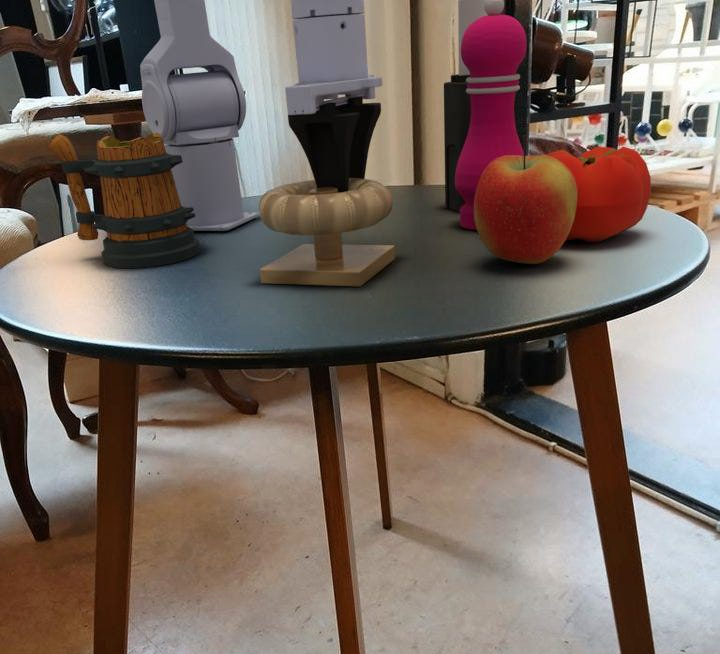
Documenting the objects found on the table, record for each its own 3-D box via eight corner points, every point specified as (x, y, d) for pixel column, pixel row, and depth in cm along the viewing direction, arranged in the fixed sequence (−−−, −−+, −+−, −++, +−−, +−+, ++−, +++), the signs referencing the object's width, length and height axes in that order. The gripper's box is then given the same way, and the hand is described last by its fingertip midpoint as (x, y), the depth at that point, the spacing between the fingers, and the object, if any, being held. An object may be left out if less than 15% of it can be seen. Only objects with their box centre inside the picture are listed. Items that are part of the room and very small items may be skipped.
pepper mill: (540, 225, 77) (551, -12, 67) (476, 235, 75) (478, -8, 65) (503, 214, 83) (508, -5, 73) (442, 223, 81) (439, -1, 71)
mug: (215, 241, 80) (196, 120, 75) (185, 266, 72) (161, 131, 66) (98, 247, 82) (70, 129, 76) (54, 272, 73) (19, 141, 68)
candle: (441, 207, 88) (437, -56, 76) (479, 200, 90) (481, -58, 78) (464, 213, 84) (464, -64, 72) (504, 206, 86) (510, -65, 74)
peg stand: (260, 283, 65) (249, 200, 61) (304, 256, 72) (296, 181, 69) (360, 287, 62) (354, 199, 58) (395, 258, 69) (392, 179, 66)
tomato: (530, 252, 67) (534, 161, 64) (524, 226, 77) (527, 144, 73) (657, 248, 66) (668, 154, 62) (635, 221, 75) (644, 138, 72)
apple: (585, 254, 66) (595, 126, 61) (555, 279, 60) (562, 139, 55) (496, 249, 70) (498, 128, 65) (459, 271, 64) (459, 140, 59)
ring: (238, 237, 62) (232, 199, 61) (295, 210, 71) (292, 176, 70) (364, 239, 59) (362, 198, 57) (408, 210, 67) (407, 174, 66)
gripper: (341, 12, 54) (355, 214, 60) (404, 13, 65) (410, 183, 72) (252, 21, 56) (274, 214, 63) (328, 20, 68) (340, 184, 74)
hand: (342, 198), depth 67 cm, fingers closed on ring, 3 cm apart
